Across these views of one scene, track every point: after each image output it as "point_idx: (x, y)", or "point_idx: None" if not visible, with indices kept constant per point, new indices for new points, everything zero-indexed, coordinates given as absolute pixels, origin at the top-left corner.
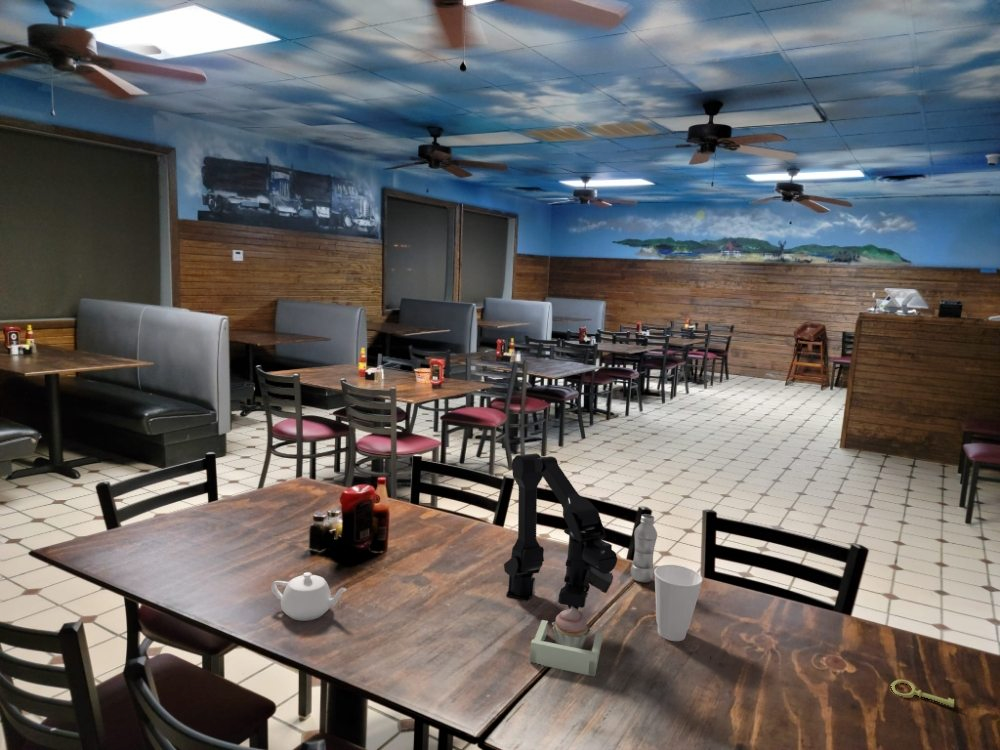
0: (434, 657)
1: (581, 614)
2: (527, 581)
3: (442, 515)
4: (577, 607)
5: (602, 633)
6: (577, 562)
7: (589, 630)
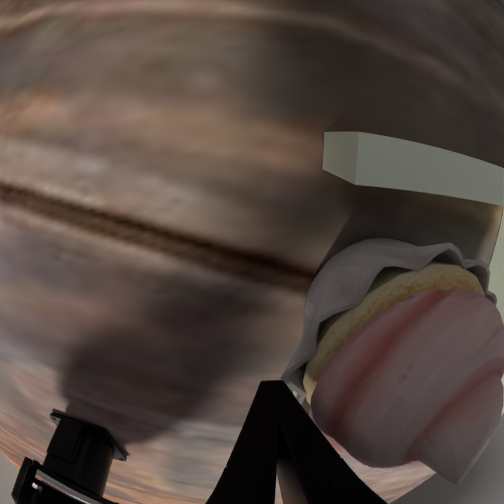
0: None
1: (452, 392)
2: (83, 471)
3: (9, 458)
4: (328, 449)
5: (362, 132)
6: None
7: (442, 251)
